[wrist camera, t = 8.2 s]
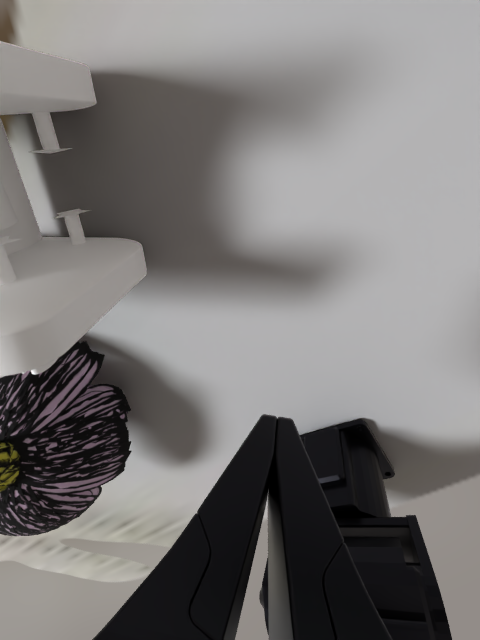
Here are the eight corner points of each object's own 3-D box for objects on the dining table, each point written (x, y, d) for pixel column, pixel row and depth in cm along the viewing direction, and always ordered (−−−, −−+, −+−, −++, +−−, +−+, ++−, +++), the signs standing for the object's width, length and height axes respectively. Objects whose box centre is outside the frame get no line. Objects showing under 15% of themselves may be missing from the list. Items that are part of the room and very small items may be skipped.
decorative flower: (136, 527, 18) (-53, 633, 21) (186, 430, 30) (62, 505, 32) (-20, 310, 18) (-200, 445, 20) (94, 296, 29) (-28, 382, 31)
